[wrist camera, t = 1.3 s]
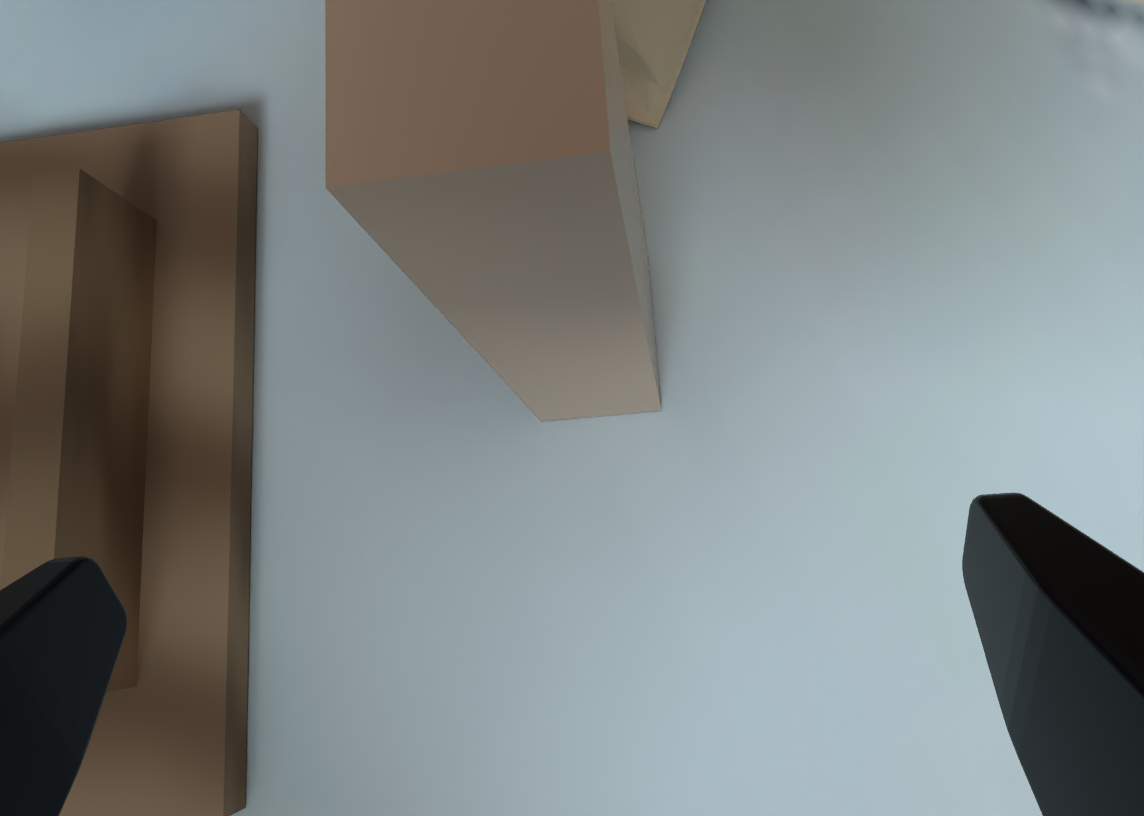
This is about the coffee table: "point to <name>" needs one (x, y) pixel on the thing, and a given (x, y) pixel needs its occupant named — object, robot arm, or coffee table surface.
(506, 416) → the coffee table surface
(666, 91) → the decorative ornament
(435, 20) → the brown rectangular box
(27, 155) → the walnut rack
